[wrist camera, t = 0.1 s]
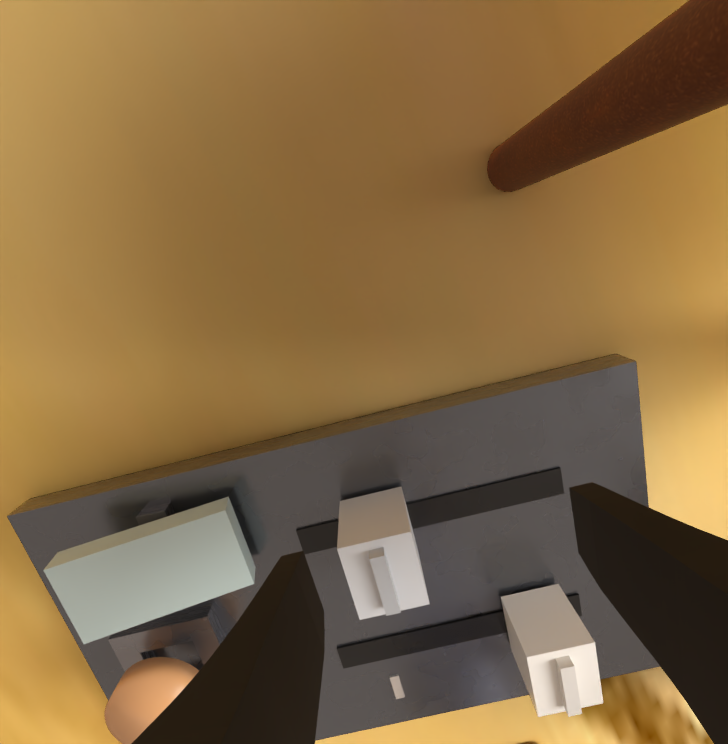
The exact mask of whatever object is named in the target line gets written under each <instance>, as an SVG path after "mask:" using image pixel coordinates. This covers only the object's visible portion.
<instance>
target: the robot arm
mask: <svg viewBox="0 0 728 744" xmlns="http://www.w3.org/2000/svg"><path fill="white" fill-rule="evenodd" d="M569 491H570V498H571V505H572V512H573V519H574V526H575V533H576V540H577V547H578V553H579V555H580V556H581V558H582V560H583V561H584V563H585V565H586V566H587V568H588V570H589V571H590V573H591V575H592V576H593V578H594V579H595V581H596V583H597V584H598V586H599V587H600V589H601V590H602V592H603V593H604V594H605V596H606V597H607V598H608V600H609V601H610V602H611V604H612V605H613V606H614V607H615V609H616V610H617V611H618V613H619V614H620V615H621V617H622V618H623V619H624V620H625V622H626V623H627V624H628V626H629V627H630V628H631V629H632V631H633V632H634V633H635V634H636V636H637V637H638V638H639V640H640V641H641V642H642V643H643V645H644V646H645V647H646V649H647V650H648V651H649V652H650V654H651V655H652V656H653V658H654V659H655V660H656V661H657V663H658V664H659V665H660V666H661V668H662V669H663V670H664V672H665V673H666V674H667V675H668V677H669V678H670V679H671V681H672V682H673V684H674V685H675V686H676V688H677V689H678V690H679V692H680V693H681V695H682V696H683V697H684V699H685V700H686V702H687V703H688V705H689V706H690V708H691V709H692V711H693V712H694V714H695V715H696V717H697V718H698V720H699V721H700V723H701V724H702V726H703V727H704V729H705V730H706V732H707V734H708V735H709V737H710V738H711V740H712V741H713V743H714V744H728V540H725V539H723V538H720V537H717V536H715V535H712V534H710V533H707V532H705V531H702V530H699V529H697V528H694V527H692V526H690V525H687V524H685V523H683V522H680V521H678V520H675V519H673V518H671V517H669V516H666V515H664V514H662V513H660V512H657V511H655V510H653V509H651V508H648V507H646V506H644V505H642V504H640V503H637V502H635V501H633V500H631V499H629V498H627V497H625V496H622V495H620V494H618V493H616V492H614V491H612V490H609V489H607V488H605V487H603V486H600V485H598V484H596V483H593V482H591V483H586V484H582V485H578V486H574V487H570V488H569ZM324 652H325V628H324V609H323V606H322V603H321V600H320V598H319V595H318V592H317V589H316V586H315V583H314V580H313V577H312V575H311V572H310V569H309V566H308V563H307V560H306V557H305V554H304V551H300V552H296V553H292V554H287V555H283V556H281V557H280V559H279V560H278V562H277V563H276V565H275V566H274V568H273V569H272V571H271V572H270V574H269V575H268V577H267V578H266V580H265V581H264V583H263V584H262V586H261V587H260V589H259V590H258V592H257V594H256V595H255V597H254V598H253V599H252V601H251V602H250V604H249V605H248V607H247V608H246V610H245V611H244V613H243V614H242V616H241V617H240V618H239V620H238V621H237V623H236V624H235V625H234V627H233V628H232V629H231V631H230V632H229V633H228V635H227V636H226V637H225V639H224V640H223V641H222V643H221V644H220V645H219V647H218V648H217V649H216V651H215V652H214V653H213V655H212V656H211V657H210V658H209V660H208V661H207V662H206V663H205V665H204V666H203V667H202V668H201V669H200V671H199V672H198V673H197V674H196V675H195V676H194V678H193V679H192V680H191V681H190V682H189V683H188V685H187V686H186V687H185V688H184V689H183V690H182V691H181V693H180V694H179V695H178V696H177V697H176V698H175V699H174V700H173V701H172V702H171V704H170V705H169V706H168V707H167V708H166V709H165V710H164V711H163V712H162V713H161V714H160V715H159V716H158V717H157V718H156V719H155V720H154V721H153V722H152V723H151V724H150V725H149V726H148V727H147V728H146V729H145V730H144V731H143V732H142V733H141V734H140V735H139V736H138V737H137V738H136V739H135V740H134V741H133V742H132V743H131V744H315V737H316V727H317V718H318V709H319V700H320V691H321V682H322V672H323V662H324Z"/></svg>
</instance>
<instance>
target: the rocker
mask: <svg viewBox="0 0 728 744" xmlns="http://www.w3.org/2000/svg"><path fill="white" fill-rule="evenodd" d="M255 568H256V566H255V564H254V561H253V559H252V556H251V553H250V551H249V548H248V546H247V543H246V540H245V538H244V535H243V533H242V530H241V527H240V525H239V522H238V520H237V517H236V514H235V512H234V509H233V507H232V504H231V501H230V499H229V496H228V497H225V498H222V499H219V500H216V501H213V502H210V503H207V504H204V505H201V506H198V507H195V508H192V509H189V510H186V511H182V512H179V513H176V514H173V515H170V516H167V517H164V518H161V519H158V520H155V521H152V522H149V523H146V524H143V525H140V526H136V527H133V528H130V529H127V530H124V531H121V532H118V533H115V534H112V535H109V536H106V537H103V538H100V539H97V540H94V541H90V542H87V543H84V544H81V545H78V546H75V547H72V548H69V549H66V550H63V551H60V552H58V553H57V554H56V555H55V556H54V557H53V559H52V560H51V561H50V562H49V564H48V565H47V566H46V567H45V569H44V570H43V571H44V573H45V574H46V576H47V578H48V580H49V582H50V583H51V585H52V587H53V589H54V591H55V593H56V594H57V596H58V598H59V600H60V602H61V604H62V605H63V607H64V609H65V611H66V613H67V615H68V616H69V618H70V620H71V622H72V624H73V626H74V627H75V629H76V631H77V633H78V635H79V637H80V638H81V640H82V642H83V644H86V643H89V642H92V641H95V640H98V639H100V638H103V637H106V636H109V635H112V634H114V633H117V632H120V631H123V630H126V629H129V628H131V627H134V626H137V625H140V624H143V623H145V622H148V621H151V620H154V619H157V618H159V617H162V616H165V615H168V614H171V613H174V612H176V611H179V610H182V609H185V608H188V607H190V606H193V605H196V604H199V603H202V602H205V601H207V600H210V599H213V598H216V597H219V596H221V595H224V594H227V593H230V592H233V591H236V590H238V589H241V588H244V587H247V586H250V585H252V584H254V581H255Z"/></svg>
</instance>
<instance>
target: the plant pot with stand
mask: <svg viewBox="0 0 728 744" xmlns="http://www.w3.org/2000/svg"><path fill="white" fill-rule="evenodd" d="M727 104H728V0H689V1H688V2H687V3H685V4H684V5H683V6H681V7H680V8H679V9H677V10H676V11H675V12H674V13H672V14H671V15H670V16H668V17H667V18H666V19H664V20H663V21H662V22H660V23H659V24H658V25H656V26H655V27H654V28H653V29H651V30H650V31H649V32H647V33H646V34H645V35H643V36H642V37H641V38H639V39H638V40H637V41H636V42H634V43H633V44H632V45H630V46H629V47H628V48H626V49H625V50H624V51H622V52H621V53H620V54H619V55H617V56H616V57H615V58H613V59H612V60H611V61H609V62H608V63H607V64H605V65H604V66H603V67H601V68H600V69H599V70H598V71H596V72H595V73H594V74H592V75H591V76H590V77H588V78H587V79H586V80H584V81H583V82H582V83H581V84H579V85H578V86H577V87H575V88H574V89H573V90H571V91H570V92H569V93H567V94H566V95H565V96H564V97H562V98H561V99H560V100H558V101H557V102H556V103H554V104H553V105H552V106H550V107H549V108H548V109H546V110H545V111H544V112H543V113H541V114H540V115H539V116H537V117H536V118H535V119H533V120H532V121H531V122H529V123H528V124H527V125H526V126H524V127H523V128H522V129H520V130H519V131H518V132H516V133H515V134H514V135H512V136H511V137H510V138H508V139H507V140H506V141H505V142H503V143H502V144H501V145H499V146H498V147H497V148H496V149H495V150H494V151H493V153H492V154H491V156H490V158H489V161H488V168H487V171H488V176H489V179H490V181H491V182H492V184H493V185H494V186H495V187H496V188H497V189H499V190H502V191H504V192H512V191H515V190H519V189H521V188H523V187H526V186H528V185H531V184H533V183H536V182H538V181H541V180H543V179H546V178H548V177H550V176H553V175H555V174H558V173H560V172H563V171H565V170H568V169H570V168H572V167H575V166H577V165H580V164H582V163H585V162H587V161H590V160H592V159H595V158H597V157H599V156H602V155H604V154H607V153H609V152H612V151H614V150H617V149H619V148H621V147H624V146H626V145H629V144H631V143H634V142H636V141H639V140H641V139H644V138H646V137H648V136H651V135H653V134H656V133H658V132H661V131H663V130H666V129H668V128H670V127H673V126H675V125H678V124H680V123H683V122H685V121H688V120H690V119H693V118H695V117H697V116H700V115H702V114H705V113H707V112H710V111H712V110H715V109H717V108H719V107H722V106H724V105H727Z"/></svg>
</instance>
